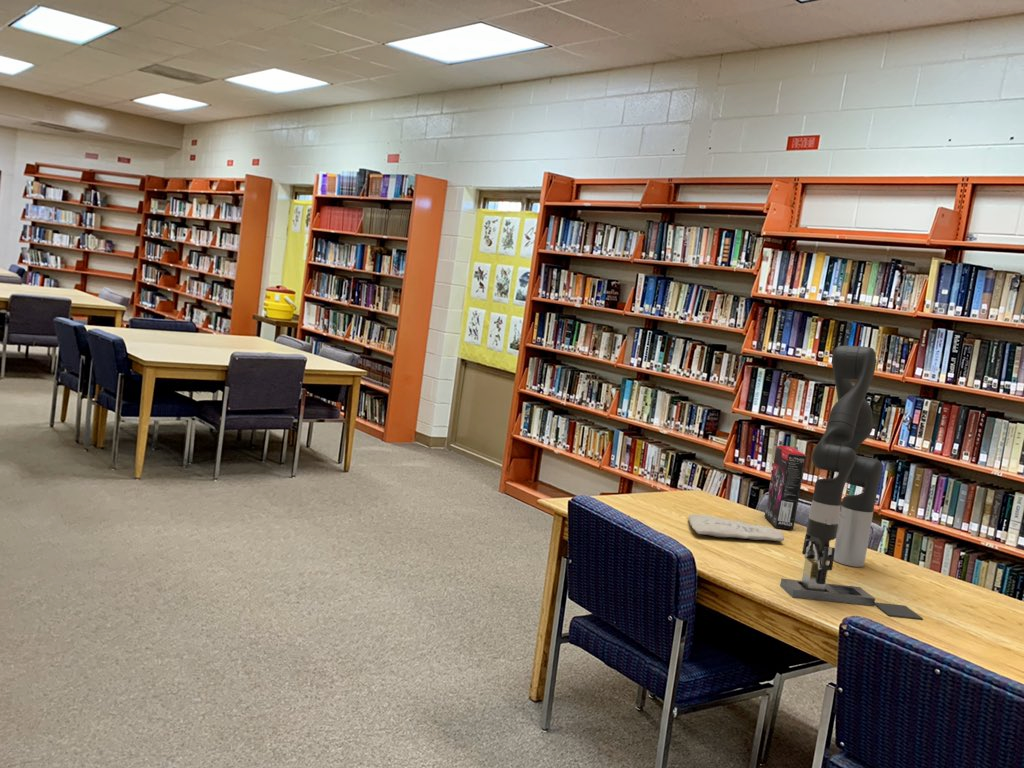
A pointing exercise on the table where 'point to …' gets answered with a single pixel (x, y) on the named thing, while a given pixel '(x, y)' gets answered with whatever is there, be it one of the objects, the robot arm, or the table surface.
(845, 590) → the grey slotted frame
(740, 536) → the stone
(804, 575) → the block
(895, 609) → the mat
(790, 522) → the graphics card box
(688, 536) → the table surface
